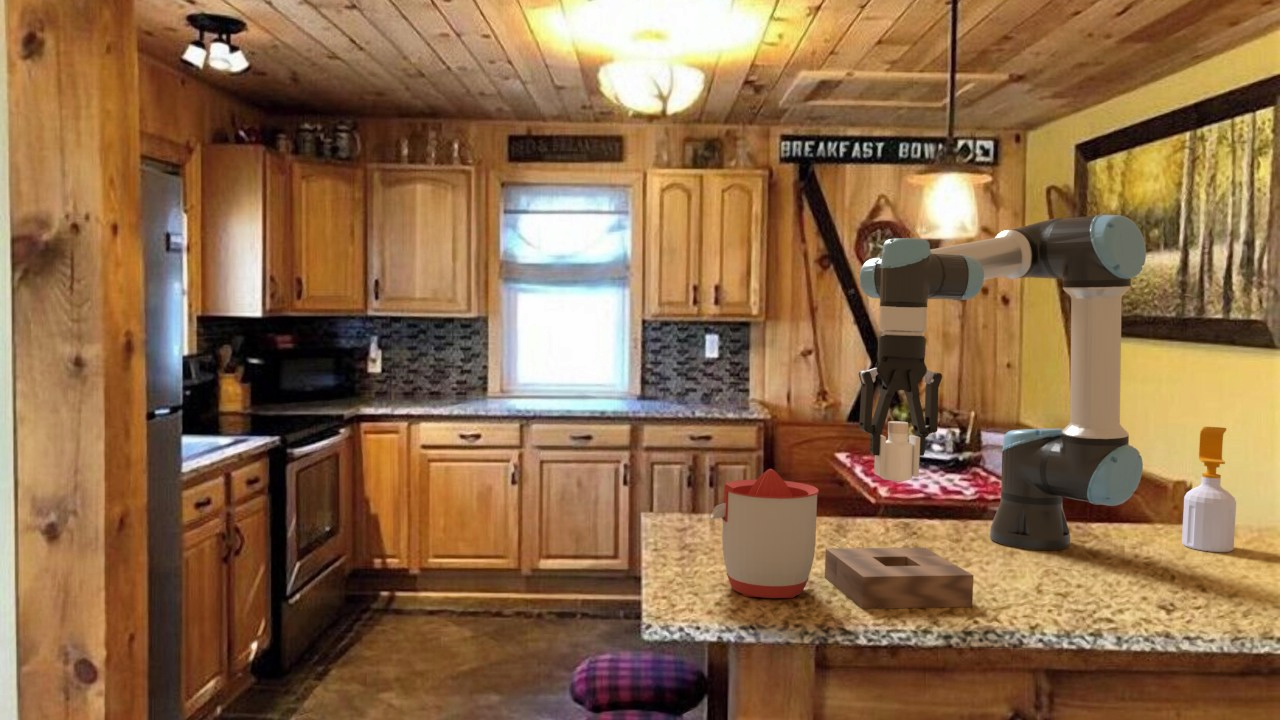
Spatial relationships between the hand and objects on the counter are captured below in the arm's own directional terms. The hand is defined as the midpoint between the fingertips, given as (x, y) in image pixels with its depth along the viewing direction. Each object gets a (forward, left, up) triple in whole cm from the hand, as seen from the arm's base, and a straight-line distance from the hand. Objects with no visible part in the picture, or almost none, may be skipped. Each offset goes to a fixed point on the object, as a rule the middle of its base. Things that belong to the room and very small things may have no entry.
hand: (896, 475), depth 165 cm
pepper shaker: (0, 0, -1) cm, 1 cm away
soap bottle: (-77, -26, -19) cm, 84 cm away
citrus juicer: (+22, -1, -19) cm, 29 cm away
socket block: (0, +1, -19) cm, 19 cm away
